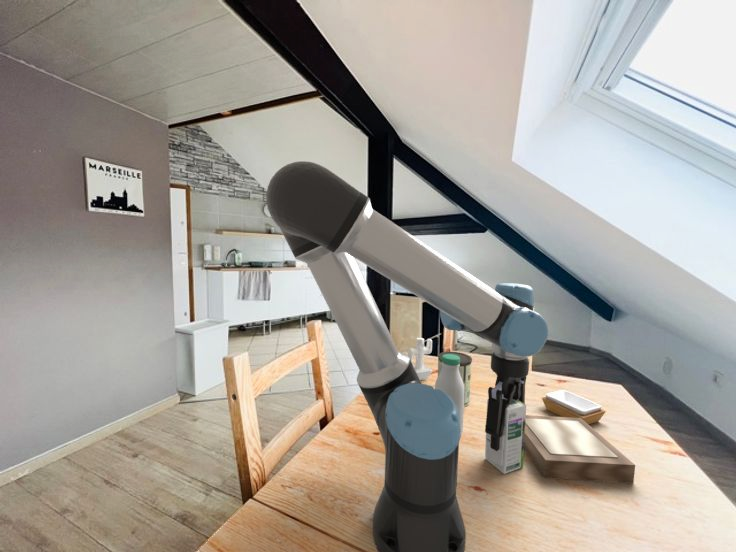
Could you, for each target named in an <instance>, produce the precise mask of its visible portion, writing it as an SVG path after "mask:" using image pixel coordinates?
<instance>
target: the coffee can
mask: <svg viewBox="0 0 736 552" xmlns="http://www.w3.org/2000/svg"><path fill="white" fill-rule="evenodd" d="M444 354H453V355H457V356H459V357H460V366H459V373H460V376H461V378H462V381H463V384H464V408H466V407H468V406H469V405H470V403H471V380H472V379H471V377H472V376H471V375H472V362H473V358H472V357H471V356H470V355H468V354H466V353H463V352H458V351H443V352H440V353H438V355H437V377H438V376H439V374H440V372H441V369H442V355H444Z"/></svg>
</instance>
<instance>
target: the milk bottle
mask: <svg viewBox="0 0 736 552" xmlns="http://www.w3.org/2000/svg"><path fill="white" fill-rule="evenodd" d="M459 366H460V357H459V356H457V355H453V354H444V355H442V369H441V372H440V374H439V376H438V375H437V378H436V381H435V384H434V389H440V390H441V391H443V392H445V393H446V394H447V395H448V396H449V397H450V398H451V399H452V400H453V401H454V403H455V404H456V406H457V408H458V412H459V422H460V436H461V435H462V433H463V429H464V415H465V407H464V384H463V381H462V378H461V376H460V373H459Z"/></svg>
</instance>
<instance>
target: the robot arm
mask: <svg viewBox="0 0 736 552" xmlns="http://www.w3.org/2000/svg"><path fill="white" fill-rule="evenodd" d="M265 200H266V201H265V202H266V206H267V210H268V213H269V215H270V218H271V219H272V220H273V222H274V223H275V224H276V226H278V227H279V229H280V230H281V233H282V235H283V237H284V239H285V241H286V242H287V244H288V247H289V249H290V251H291V252H292V254H293V255H292V256H293V257H294V258H295V260H298V261H301V262H302V263H305V264H307V267H308V269H309V270H310V272H311V275H312V276H313V279H314V281H315V282H316V285H317V286H318V289H319V291H320V293H321V295H322V297H323V299H324V301H325V302H326V305H327V307H328V309H329V311H330V313H331V315H332V317H333V319H334V321H335V323H336V325H337V327H338V329H339V332H340V334H341V335H342V337H343V339H344V341H345V343H346V345H347V347H348V349H349V352H350V353H351V355H352V358H353V359H354V362H355V363H356V365H357V367H358V370H359V371H358V374H357V376H356V382H357V385H358V387H359V388H360V391H361V392H362V393H361V394H362V395H363V397H364V400H365V402H366V403H367V405H368V408H369V409H370V411H371V413H372V416H373V418H374V420H375V422H376V425H377V428H378V431H379V434H380V436H381V440H382V441H383V446H384V454H385V455H384V457H385V459H384V462H385V463H384V485H383V487H382V489H381V492H380V495H379V498H378V500H377V502H376V505H375V508H374V511H373V518H372V537H373V542H374V544H375V546H376V549H377V551H378V552H465V551H466V539H467V538H466V535H467V534H466V527H465V522H464V519H463V516H462V512H461V509H460V505H459V502H458V498H457V483H458V467H459V451H460V450H459V449H460V440H461V435H460V422H459V412H458V408H457V406H456V404H455V403H454V401H453V400H452V399H451V398H450V397H449V396H448V395H447V394H446V393H445V392H443V391H441V390H440V389H435V386H432V385H429V384H425V383H422V382H421V381H422V380H419V377H418V375H417V373H416V371H415V369H414V367H413V365H414V364H413V362H411V360H410V358H409V356H408V353H407V352H403V351H399V350H398V348H397V345H396V344H395V341H394V339H393V337H392V336H391V333H390V331H389V329H388V327H387V324H386V322H385V320H384V318H383V315H382V314H381V311H380V309H379V307H378V305H377V302H376V301H375V298H374V297H373V294H372V292H371V290H370V288H369V286H368V284H367V281H366V280H365V277H364V275H363V273H362V270H361V269H360V267H359V264H358V262H357V261H359V262H361V263H362V264H364V265H366V266H367V267H369V268H370V269H371V270H374V272H376V273H379V274H380V275H381V276H383V277H384V278H387V279H388V280H389V281H392V282H393V283H395V284H396V285H398V286H400V287H401V288H403V289H404V290H406V291H408V292H409V293H411V294H413V295H415V296H416V297H417V298H419V299H421V300H422V301H424V302H425V303H427V304H429V305H431V306H432V307H434V308H435V309H437V310H439V315H440V320H441V323H442V325H443V327H444V328H445V329H446V330H449V331H458V332H462V331H467V332H470V333H472V334H474V335H476V336H478V337H479V338H481V339H484V340H486V341H488V342H489V343H491V351H492V353H491V354H490V355H491V356H490V369H491V370H492V372H494V373H495V375H496V379H495V383H494V387H492V386H489V387H488V390H487V394H488V398H487V400H488V408H487V407H486V416H485V417H486V418H485V429H484V433H485V434H486V433H488V434H490V451H489V460H491V461H493V462H495V463H497V464H498V465H500V466H502V465H503V453H504V437H505V435H503V429H504V425H505V412H506V408H507V407H508V406H509V405H510V404H511V403H512V399H515V400H519V401H520V402H522V403H524V404H525V405H526V403H525V400H526V381H527V377H528V375H529V372H530V370H529V368H530V359H529V357H532V356H534V355H536V354H538V353H539V352H540V351H541V350H542V349H543V347H544V346H545V344H546V342H547V340H548V336H549V325H548V323H547V321H546V319H545V318H544V317H543V315H541V314H540V313H538V312H537V311H535V310H534V308H535V307H534V306H535V305H534V288H532V286H530V285H528V284H523V283H513V282H511V283H510V282H509V283H508V282H505V283H503V282H502V283H501V282H500V283H497V284H496V285H495V289H493V288H491V286H489V285H487V284H486V283H484V282H483V281H481V280H480V279H478V278H477V277H475V276H473V274H471V273H469V272H468V271H466V270H464V269H463V268H462V267H460V266H459V265H457V264H456V263H454V262H452V261H451V259H450V260H449V259H448V258H447V257H445V256H444V255H442V254H440V253H439V252H438V251H436V250H435V249H433V248H432V247H430V246H429V245H427V244H426V243H424V242H423V241H421V240H420V239H418V238H417V237H416V236H413V235H412V234H411V233H409V232H408V231H407V230H404V229H403V228H402V227H400V226H399V225H397V224H396V223H395V222H393V221H392V220H390V219H389V218H387V217H386V216H384V215H382V214H381V213H379V212H378V211H376V210H375V209H373V207H372V203H371V198H370V197H368V196H367V195H365V194H364V193H362V192H361V191H359V190H358V189H356V187H354V186H352V185H351V184H350V183H348V182H347V181H346V180H345V179H343V178H341V177H339V176H338V175H337V174H336V173H334V172H332V171H331V170H330V169H328V168H326V167H325V166H323V165H320V164H318V163H316V162H312V161H294V162H291V163H287V164H286V165H284V166H283V167H281V168H279V169H278V170H277V171H276V172H275V173H274V175H273V176H272V177H271V178H270V180H269V183H268V185H267V189H266V196H265ZM502 397H503V398H506V399H507V400H506V399H503V398H502Z"/></svg>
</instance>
